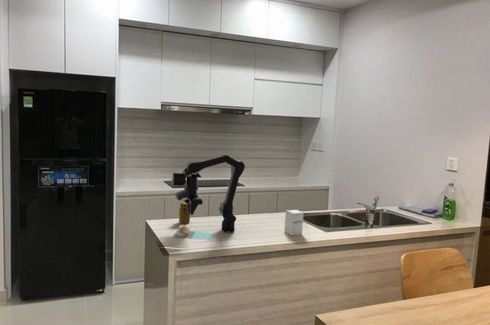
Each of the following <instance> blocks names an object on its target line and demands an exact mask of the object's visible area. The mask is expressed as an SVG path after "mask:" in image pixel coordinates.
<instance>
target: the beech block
mask: <svg viewBox="0 0 490 325" xmlns="http://www.w3.org/2000/svg"><path fill="white" fill-rule="evenodd" d="M177 229H178V236H188V235H189V234H190V231H191V225H185V224H180V225H179V227H178V228H177Z"/></svg>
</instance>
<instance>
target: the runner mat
mask: <svg viewBox="0 0 490 325" xmlns="http://www.w3.org/2000/svg"><path fill="white" fill-rule="evenodd" d="M214 235H215V233H214V232H204V231H203V232H202V231H192V230H190V234H189V235H188V236H178V230H176V231H175V233H174V234H173V235H172V237H171V238H173V239H174V238H175V239H177V238H178V239H191V240H202V241H211V240H212V239H213V236H214Z"/></svg>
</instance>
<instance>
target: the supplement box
mask: <svg viewBox="0 0 490 325" xmlns="http://www.w3.org/2000/svg"><path fill="white" fill-rule="evenodd" d="M284 216H285V217H284V218H285V219H284V233H285V234H287V235H289V236H291V237H292V236H298V235H303V224H304V211H301V210H298V209H292V210H291V209H290V210H289V209H287V210H285V215H284Z"/></svg>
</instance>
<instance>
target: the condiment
mask: <svg viewBox="0 0 490 325" xmlns="http://www.w3.org/2000/svg"><path fill="white" fill-rule="evenodd" d="M179 207H180V208H179V214H178V216H179V217H178V222H176V224H180V225H187V224H188V225H189V223H190V225H192V224H193V223H191V222H190V220H191V214H189V212H188V208H187V204H186V202H181V203H180V206H179Z"/></svg>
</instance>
